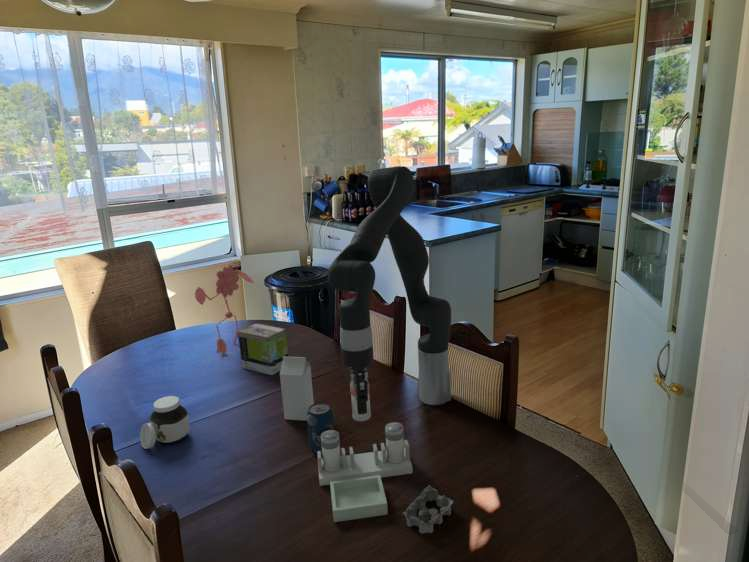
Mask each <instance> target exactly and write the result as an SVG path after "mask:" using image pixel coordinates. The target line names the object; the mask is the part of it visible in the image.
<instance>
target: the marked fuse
mask: <svg viewBox="0 0 749 562" xmlns="http://www.w3.org/2000/svg"><path fill="white" fill-rule="evenodd" d="M367 382H368V401H366V402H367V413H366V414H358V409H357V400H356V392H355V391H354V389H353V381H351V380H350V383H349V386H350V387H349V390H350V395H351V397H350V398H351V399H350V400H351V409H352V412H351V413H352V415H351V416H352V419H353V420H354V421H356V422H365V421H368V420H370V419H371V417H372V412H371V401H370V399H371V398H370V382H369V380H368V379H367ZM355 386H356V384H355Z"/></svg>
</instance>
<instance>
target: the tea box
mask: <svg viewBox="0 0 749 562" xmlns="http://www.w3.org/2000/svg"><path fill="white" fill-rule="evenodd" d="M238 337H239V338H238ZM238 337H237V338H238V345H239V351H240V357H241V358H240V359H241V366H242V367H241V368H243V369H246V370H250V371H253V372H257V373H261V374H264V375H265V374H266V375H269V376H274V375H275V374H277V373H280V370H281V366H282V362H283V356H284V357H289V350H288V341H287V339H288V337H287V330H286V328H283V327H278V326H272V325H268V324H263V323H258V322H257V323H254V324H251V325H249V326H247V327H245V328H243V329H240V330H238Z"/></svg>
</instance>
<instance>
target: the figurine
mask: <svg viewBox="0 0 749 562" xmlns="http://www.w3.org/2000/svg"><path fill="white" fill-rule="evenodd" d="M216 277H217V278H218V279H217V281H216V282H215V285H216V294H215V295H214V296H212V297H209V296H208V295H207V294H206V291H205V290H204V289H203V288H202V287H200V286H198V287H197V289H195V292H194V298H195V299H196V302H198V303H199V304H200V305H201V306H203V305H204V303H205V301H206V300H207V299H208V300H209V301H212V300H213V299H214V298H217V297H218V296H219V295H220V294H221V296H222V297H223V299H224V301H225V304H226V307H227V308H226V309H227V310H228V311H226V312H225V314H224V315H225V318H223V319H222V320H221V321H219V322H218V323H217V324H216V330H217V332H218V333H217V334H218V337H219V338H218V339H217V340H216V347H217V349H216V352H217V353H218V352H220V353H221V355H222V356H225V355H226V353H227V350H228V349H227V344H226V342H225V340H224V339H223V338H221V335H220V331H219V324H221V323H222V322H223V321H224V320H226V319H231V318H232V317H234V320H235V326H236V331H235V338H234V340H233V341H234V342H233V344H236V341H237V339H239V337H238V331H239V327H238V321H237V316H236V315H235V314H233V312H232V311H230V307H229V303H228V300H227V297H228V296H233V295H234V294H233V293H234V291H237V290H239V284H238V282H239V280H240V277H242V279H244V280H245V281H247V282H249V283H252V284H254V280H253V279H252V278H251V277H250V276H249V275H248V274H247V273H245V272H244V271H239V269H237V268H236V269H234V267H233V265H232V264H231V263H230V264H229V265H228V266H223V268H222V270H219V271H217V272H216ZM206 298H207V299H206ZM220 353H219V354H220ZM239 358H240V359H241V356H240V357H239Z"/></svg>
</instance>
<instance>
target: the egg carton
mask: <svg viewBox="0 0 749 562" xmlns="http://www.w3.org/2000/svg"><path fill="white" fill-rule="evenodd" d="M433 501H436V506H438V507H439V510H438V509H436V508H434V507H433V508H428V507H427V502H433ZM453 503H454V500H452V499H451V498H448V497H446V495H445V494H444V495H440V493H439V491H438V490H437V489H436V488H434V487H433V486H431V484H428V485H427V486H426V487H425V488H424V489H423V490H422V491H421V492H420V495H418V496H417V497H416V498H415V500H413V501H412V502H411V503H410V504H409V505H408V506H407V508H406V509H405V511H403V512H402V515H403V516H404V517H405V518H406V519H405V521H406V526H408V527H410V528H411V527H414V526H416V527H418V532H419V533H420V534H422V535H423V534H432V533H433V532H434V525H436V524H438V525H441V524H442V523H443V516H450V515H452V504H453Z"/></svg>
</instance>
